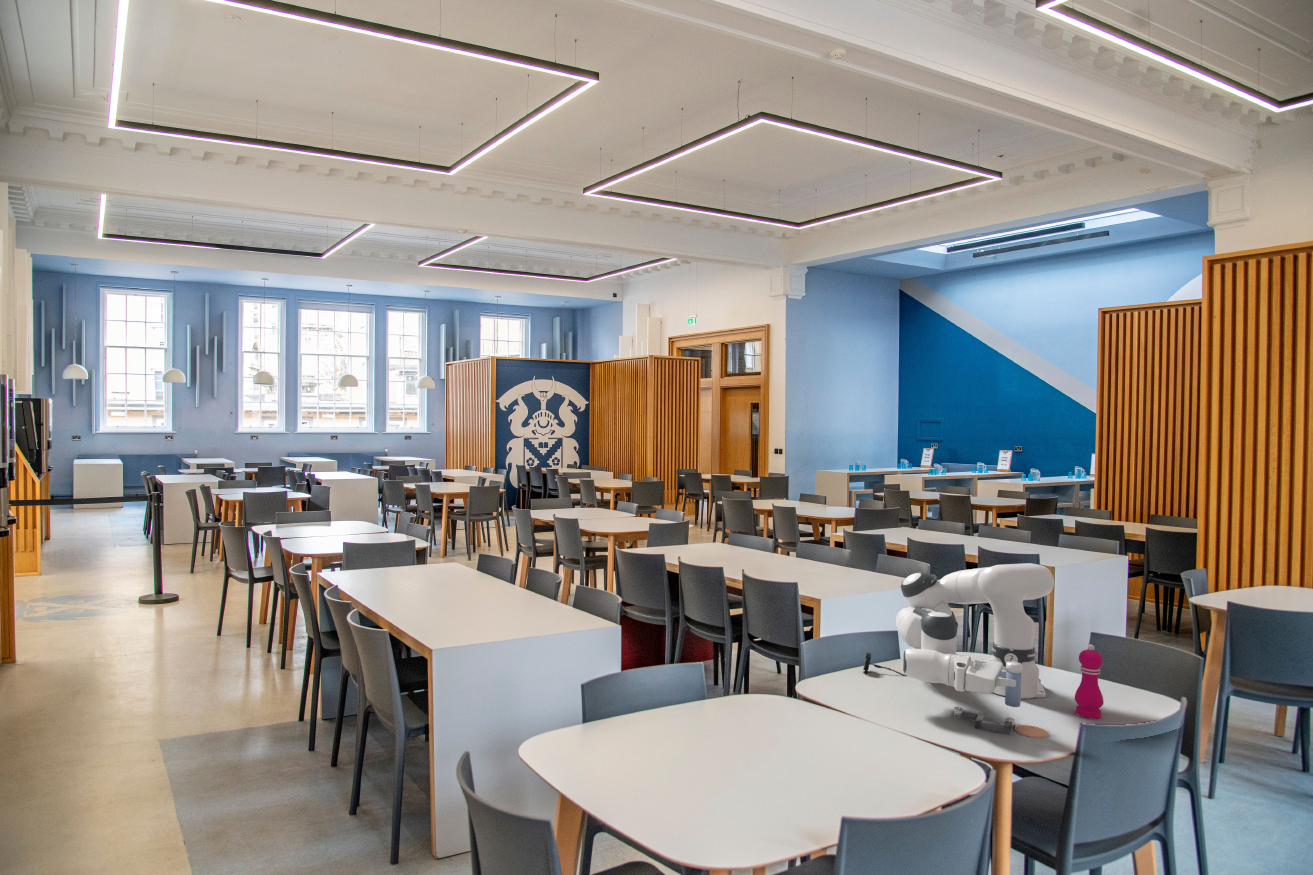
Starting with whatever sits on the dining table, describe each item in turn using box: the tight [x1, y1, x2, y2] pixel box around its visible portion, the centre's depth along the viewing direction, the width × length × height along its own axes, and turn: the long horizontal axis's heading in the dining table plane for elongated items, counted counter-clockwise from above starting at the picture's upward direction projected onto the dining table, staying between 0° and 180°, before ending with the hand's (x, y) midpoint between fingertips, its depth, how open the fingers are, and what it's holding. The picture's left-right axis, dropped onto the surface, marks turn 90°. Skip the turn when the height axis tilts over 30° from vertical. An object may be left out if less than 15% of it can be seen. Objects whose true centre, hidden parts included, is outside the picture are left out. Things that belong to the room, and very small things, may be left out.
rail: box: [953, 706, 1015, 736], centre depth 220 cm, size 8×15×2 cm, turn 60°
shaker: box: [1004, 661, 1023, 708], centre depth 218 cm, size 4×4×11 cm
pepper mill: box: [1074, 644, 1104, 720], centre depth 231 cm, size 7×7×20 cm
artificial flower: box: [862, 652, 907, 677], centre depth 264 cm, size 9×22×10 cm, turn 78°
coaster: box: [1014, 724, 1050, 739], centre depth 216 cm, size 8×8×1 cm
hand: (1017, 680), depth 218 cm, fingers closed on shaker, 4 cm apart
